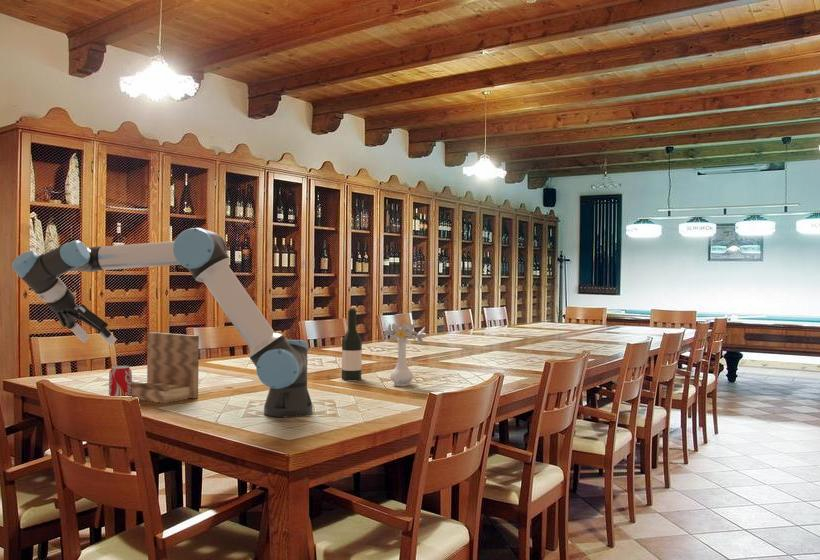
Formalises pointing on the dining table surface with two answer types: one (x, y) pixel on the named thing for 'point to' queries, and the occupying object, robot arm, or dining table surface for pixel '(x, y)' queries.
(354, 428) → the dining table surface
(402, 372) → the flower vase
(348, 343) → the wine bottle
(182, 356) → the cleat board
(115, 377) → the soda can
